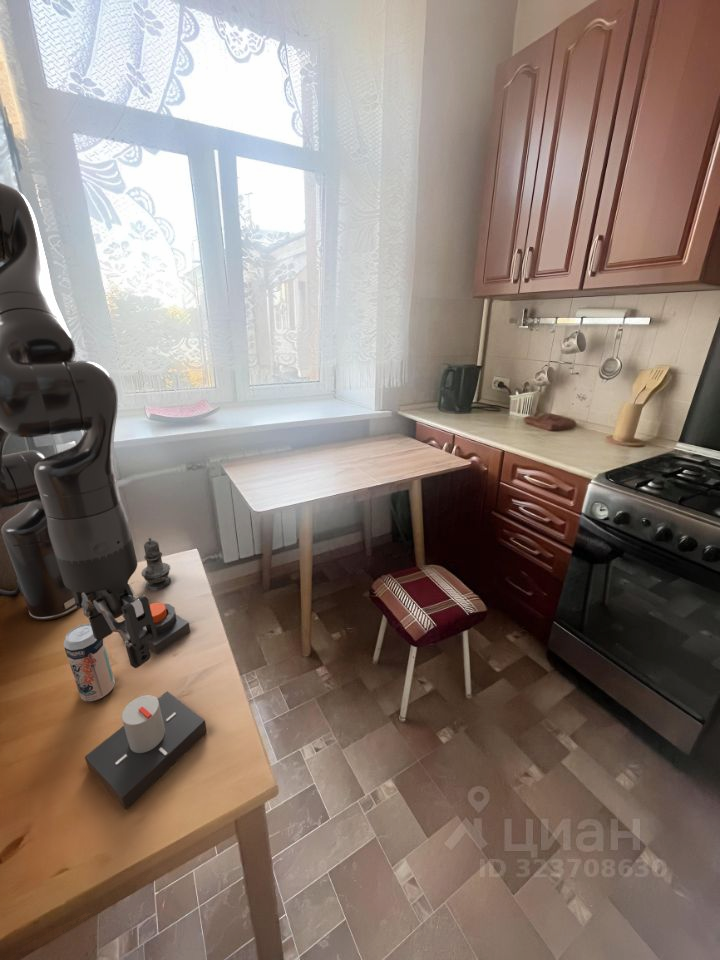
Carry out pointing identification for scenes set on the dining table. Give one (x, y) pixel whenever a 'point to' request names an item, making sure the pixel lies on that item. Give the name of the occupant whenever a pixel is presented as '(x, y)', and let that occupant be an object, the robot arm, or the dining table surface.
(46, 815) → the dining table surface
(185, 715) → the timer panel
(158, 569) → the dark grey stone stupa
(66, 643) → the beer can
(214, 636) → the dining table surface
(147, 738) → the timer knob
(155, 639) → the button block
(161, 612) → the button
